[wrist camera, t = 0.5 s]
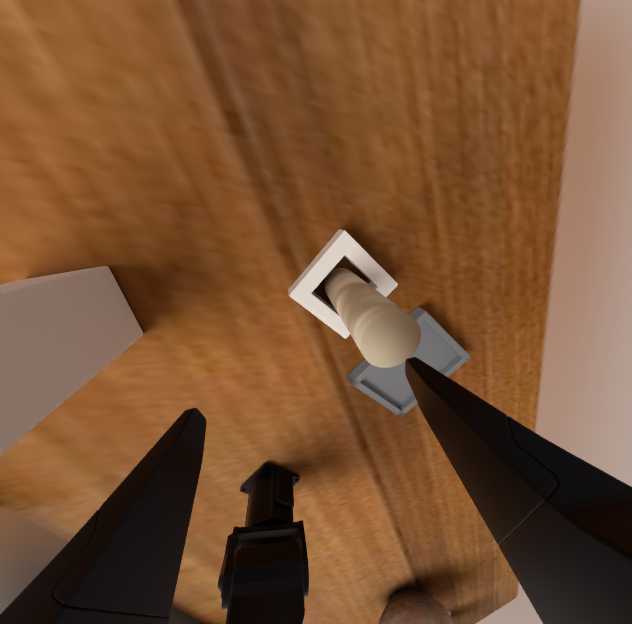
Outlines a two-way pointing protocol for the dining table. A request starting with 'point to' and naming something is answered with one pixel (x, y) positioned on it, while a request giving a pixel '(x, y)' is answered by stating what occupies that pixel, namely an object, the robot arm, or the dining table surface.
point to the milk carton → (56, 342)
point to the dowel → (372, 319)
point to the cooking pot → (414, 609)
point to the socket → (320, 269)
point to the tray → (392, 381)
